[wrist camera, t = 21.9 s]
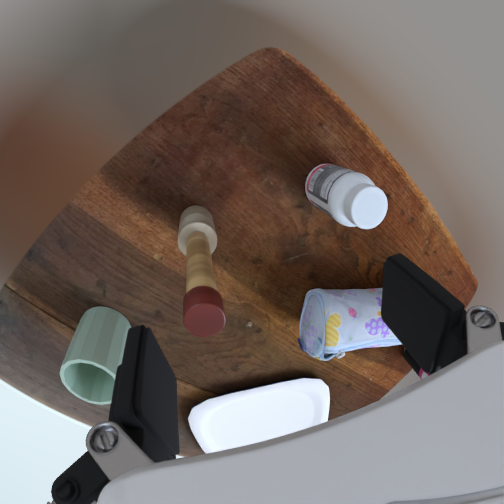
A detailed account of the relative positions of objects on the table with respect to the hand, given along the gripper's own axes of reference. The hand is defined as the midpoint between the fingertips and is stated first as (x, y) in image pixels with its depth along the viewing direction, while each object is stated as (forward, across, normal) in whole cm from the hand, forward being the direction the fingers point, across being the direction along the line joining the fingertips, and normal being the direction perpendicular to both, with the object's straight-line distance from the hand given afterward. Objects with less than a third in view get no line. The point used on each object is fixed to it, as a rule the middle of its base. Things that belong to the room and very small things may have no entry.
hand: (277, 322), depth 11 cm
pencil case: (+23, -16, +21) cm, 35 cm away
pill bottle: (+23, -12, +3) cm, 26 cm away
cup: (+22, +19, +14) cm, 33 cm away
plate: (+22, +3, +43) cm, 48 cm away
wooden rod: (+23, +3, +3) cm, 23 cm away
